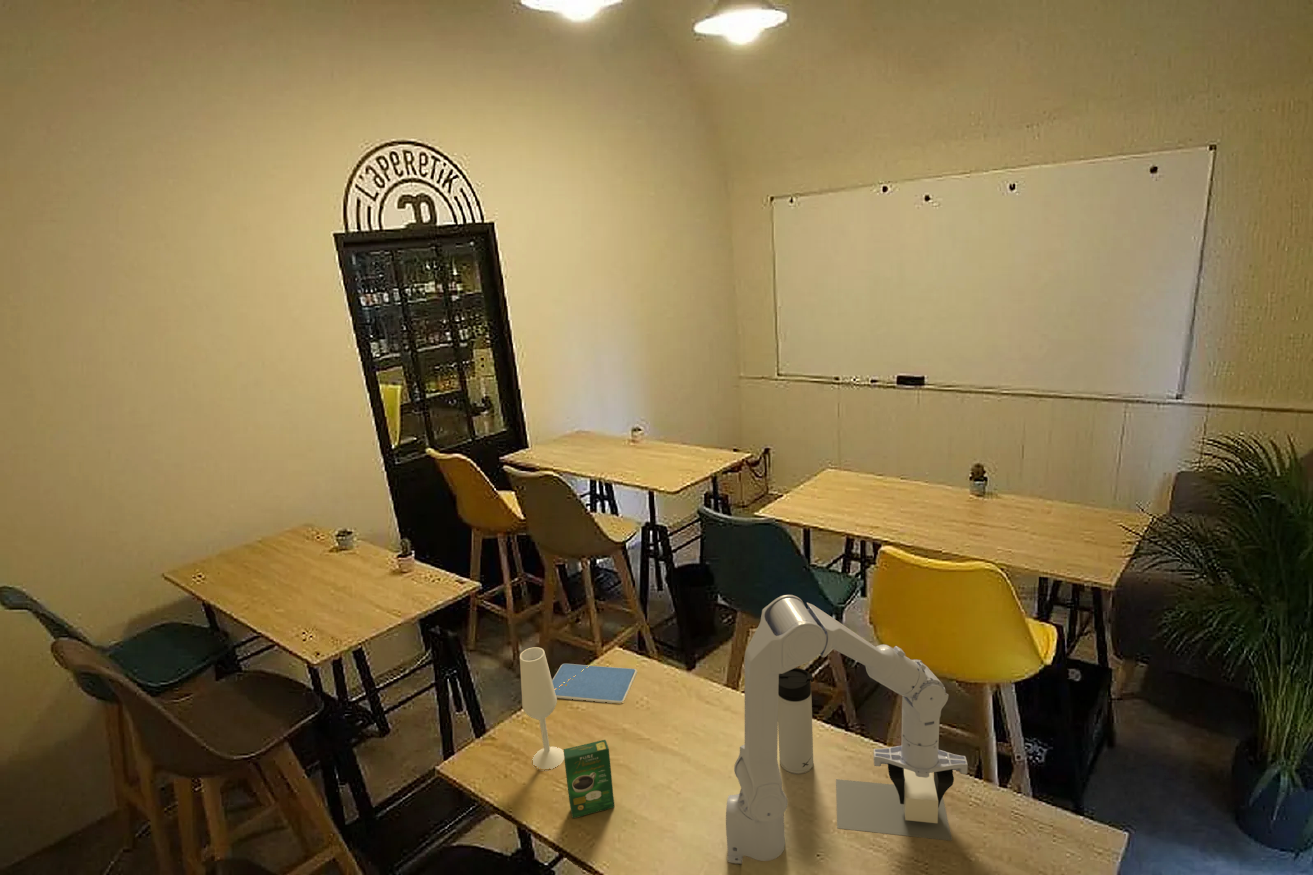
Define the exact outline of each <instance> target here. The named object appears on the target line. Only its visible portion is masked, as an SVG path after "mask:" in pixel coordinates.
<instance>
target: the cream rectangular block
mask: <svg viewBox="0 0 1313 875" xmlns="http://www.w3.org/2000/svg"><path fill="white" fill-rule="evenodd" d="M904 777H905V783H904V804H903V806H904V813H905V820H910V821H919V822H929V823H938V797H937V792H936V788H935V783H934V772H933V773H929V777H927V778H925V777H918V776H916V774H915V772H913V771H910V770H907V769H904Z"/></svg>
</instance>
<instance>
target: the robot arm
mask: <svg viewBox="0 0 1313 875" xmlns="http://www.w3.org/2000/svg"><path fill="white" fill-rule="evenodd" d="M806 605H807V608H806ZM833 650H834V651H836V652H838V653H840V654H842V655H844V656H847V657H848V658H850V659H852V660H854V661H856V662H858V663H859V664H862V665H863V666H864V667H865V670H866V673H867V676H869V678H870V679H872V680H874V681H876V682H877V683H879V684H881V685H882V686H884V687H886V688H887V689H889V690H891V691H893V692H894V693H896V694H897V695H900V696H902V697H901V698H902V699H901V701H902V702H901V703H902V704H901V745H897V746H890V747H884V748H873V765H874V767H881V766H882V765H887V769H888V776H889V779H890V780H891V782H892V784H894V785H895V787H896V789H897V791H898V794H899V799H900V804H904V783H905V777H904V769H907V770H910V771H913V772H915V774H916V776H918V777H925V778H927V777H929V773H933V778H934V783H935V788H936V792H937V797H938V808H939V805H940V802H941V799H942V797H943V798H944V795H945V794H946V792H947V791H948V790H949V789H950V788H951V787H952V786H953V784H954V782H955V778H954V771H959V774H963V775H967V774H968V768H969V767H968V765H969V764H968V760H967V757H966V755H959V754H956V753H955V754H954V753H951V752H948V751H945V750H941V749H939V744H940V743H939V741H940V740H939V738H940V718H941V716H942V714H941V713H942V709H943V708H944V706H945V705H946V704H947V702H948V700H949V693H947V692H946V688H945V685H944V683H942V681H941V680H940V679H939V678H938V677H937V676H936V675H935V674H934V673H933V671H932V670H930V668H929V667H928V666H927V665H926V664H925V663H923V661H922V660H921V659H910V657H907V655H906V652H904V650H903V649H902V648H900V647H899V646H897V645H895V646H894V647H892V646H889V645H888V644H879V645H876V646H875V645H873V644H872V643H870V641H868V640H867V639H864V638H863V637H862V636H861V635H858V633H856V632H854V631H853V630H852V629H850V628H848V627H847V626H845V625H843V624H842V623H841V622H840V621H838V620H836V619H835V618H834V617H832V616H830V615H829V614H827V613H826V612H824V610H821V609H820V608H819V607H817V606H815V605H814V604H812V603H809V602H806V604H805V603H804V602H803V600H802V599H801V598H800V597H798V596H796V595H793V594H783V595H780V596H779V597H777V598H775V599H774V600H772V601H771V602H770V603H769V604H768V605H766V606H765V607H764V608H762V609H761V617H760V622H759V624H758V627H757V629H756V630H755V631H754V633H753V636H752V638H751V640H750V642H749V643H748V645H747V647H746V649H745V651H744V744H742V745H740V747H739V753H738V754H739V755H738V757H737V758H736V761H735V764H734V768H733V770H734V774H735V777H736V779H737V780H738V783H739V786H740V791H739V793H738V794H729V795H728V797H727V800H726V808H725V810H726V811H725V834H726V846H727V862H728V863H730V864H731V863H732V864H739V865H742V864H743V858H744V856H745V857H748V858H751V859H753V860H756V861H760V862H761V861H762V862H769V861H773V860H775V859H778V858H779V856H781V855H782V854H783V852H784V850H785V848H786V837H785V836H786V835H785V834H786V832H785V814H784V813H785V812H786V810H787V808H788V797H787V795H786V793H785V792H784V790H783V780H782V776H781V771H780V767H779V762H778V746H779V734H778V683H779V674H783V673H785V672H787V671H789V670H791V669H794V668H798V667H800V666H802V665H804V664H805V665H806V664H807V663H809V662H811V661H813V660H814V659H817V657H819V656H820V657H821V658H825V657H827V656H828V655H829V654H830V653H831V652H832V651H833Z"/></svg>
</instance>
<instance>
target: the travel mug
mask: <svg viewBox="0 0 1313 875" xmlns="http://www.w3.org/2000/svg"><path fill="white" fill-rule="evenodd" d="M813 682H814V677H813V674H812V672H808V671H807V670H805V669H803V668H798V667H796V668H794V669H791V670H789V671H787V672H785V673H783V674H780V673H779V683H778V748H779V749H778V751H779V752H778V753H779V764H780V767H781V768H782V769H783V770H784V771H786V772H787V773H790V774H794V775H803V774H807V773H808V772H810V771H811V769H813V766H814V742H813V741H814V737H813V707H812V706H813V703H812V684H811V683H813Z"/></svg>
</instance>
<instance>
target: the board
mask: <svg viewBox="0 0 1313 875" xmlns="http://www.w3.org/2000/svg"><path fill="white" fill-rule="evenodd" d="M835 797H836V802H835V803H836V829H840V830H841V829H842V830H848V831H849V830H850V831H857V832H858V831H859V832H867V833H875V834H878V833H879V834H886V835H895V836H903V837H914V838H924V839H931V840H932V839H933V840H938V841H939V840H940V841H941V840H942V841H949V842H952V841H953V839H952V838H953V837H952V833H951V828H950V823H949V819H948V814H947V810H946V804H945V799H944V796H943V797H942V799H941V802H940V805H939V808H938V823H929V822H919V821H910V820H905V813H904V806H903V804H900V799H899V794H898V791H897V789H896V787H895V785H894V783H881V782H872V781H860V780H849V779H839V778H835Z"/></svg>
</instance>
